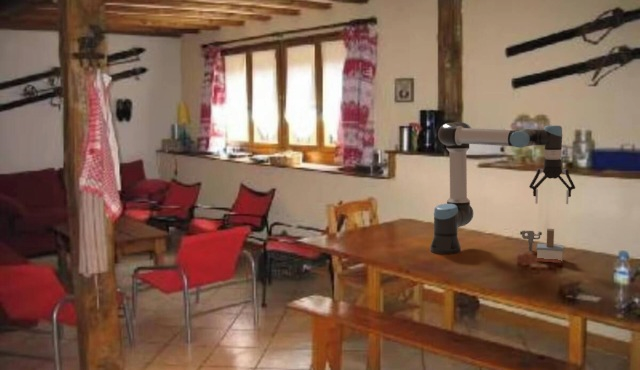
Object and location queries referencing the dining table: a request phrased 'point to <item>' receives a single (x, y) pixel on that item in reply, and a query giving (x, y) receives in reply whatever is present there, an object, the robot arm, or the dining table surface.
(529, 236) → the mechanical component
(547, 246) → the lid
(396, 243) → the dining table surface
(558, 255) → the box
